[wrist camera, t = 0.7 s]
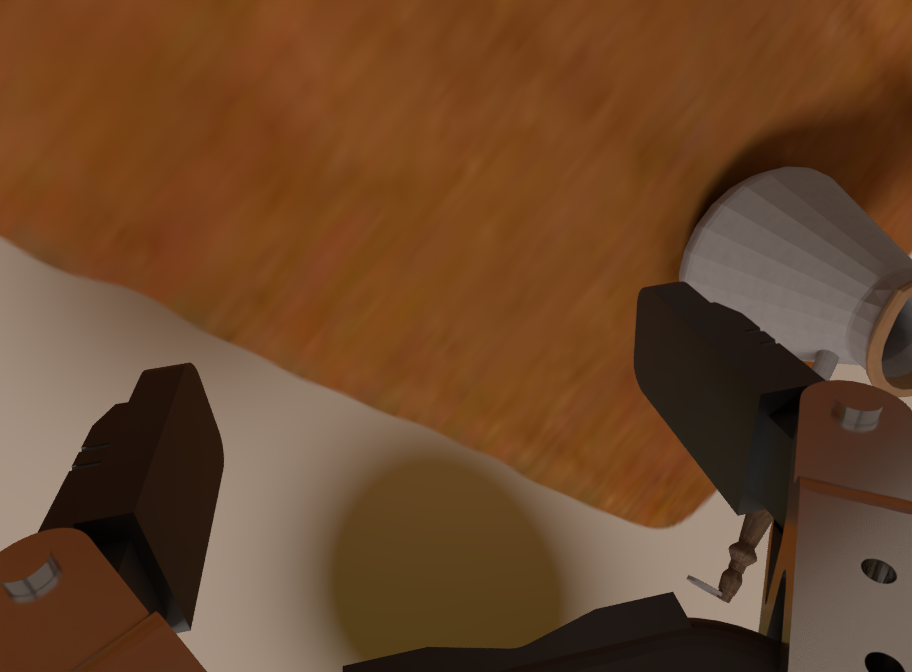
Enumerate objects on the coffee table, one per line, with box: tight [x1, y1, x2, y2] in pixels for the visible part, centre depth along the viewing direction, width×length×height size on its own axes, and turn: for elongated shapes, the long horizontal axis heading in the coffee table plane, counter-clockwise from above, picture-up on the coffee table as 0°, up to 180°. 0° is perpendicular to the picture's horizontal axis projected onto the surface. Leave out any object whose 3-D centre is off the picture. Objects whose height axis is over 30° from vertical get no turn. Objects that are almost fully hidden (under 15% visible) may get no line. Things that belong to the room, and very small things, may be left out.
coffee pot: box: [679, 166, 912, 603], centre depth 34 cm, size 21×12×15 cm, turn 137°
